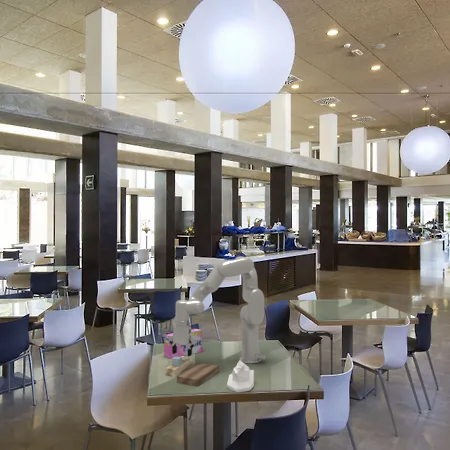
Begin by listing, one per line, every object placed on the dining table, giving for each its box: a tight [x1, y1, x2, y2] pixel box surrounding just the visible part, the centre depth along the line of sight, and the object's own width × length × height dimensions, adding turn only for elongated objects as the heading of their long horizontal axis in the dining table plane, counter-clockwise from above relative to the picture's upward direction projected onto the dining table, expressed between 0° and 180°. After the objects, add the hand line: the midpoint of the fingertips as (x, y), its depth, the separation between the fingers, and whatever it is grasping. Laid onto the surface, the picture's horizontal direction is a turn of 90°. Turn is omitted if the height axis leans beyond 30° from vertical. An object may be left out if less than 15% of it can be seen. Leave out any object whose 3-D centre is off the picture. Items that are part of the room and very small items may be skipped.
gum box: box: [163, 327, 203, 360], centre depth 254 cm, size 24×8×14 cm, turn 125°
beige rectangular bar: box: [165, 357, 194, 377], centre depth 225 cm, size 6×18×4 cm, turn 152°
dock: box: [176, 362, 220, 387], centre depth 215 cm, size 12×22×3 cm, turn 153°
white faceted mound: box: [226, 359, 255, 393], centre depth 199 cm, size 12×15×14 cm
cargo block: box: [171, 356, 183, 367], centre depth 223 cm, size 4×4×4 cm
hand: (182, 354), depth 227 cm, fingers open, 9 cm apart
